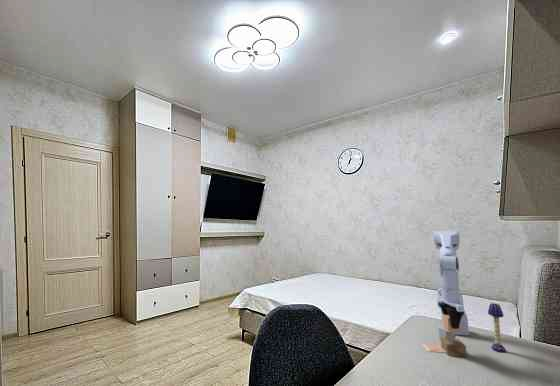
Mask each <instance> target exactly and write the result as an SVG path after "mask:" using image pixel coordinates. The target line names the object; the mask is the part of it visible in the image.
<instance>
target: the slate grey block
mask: <svg viewBox="0 0 560 386" xmlns="http://www.w3.org/2000/svg"><path fill="white" fill-rule="evenodd" d="M456 336H457V335H455V333H451V332H448V331H446V330H445V329H444V328H443V327H438V338H439V341H440V342H441V337H444V338H454V339H457V337H456Z"/></svg>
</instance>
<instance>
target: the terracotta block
mask: <svg viewBox="0 0 560 386" xmlns="http://www.w3.org/2000/svg"><path fill="white" fill-rule="evenodd" d="M443 328H444V329H445V330H446V331H448V332H451V333H460V325H459V329H453V328H452V327H451V323H450V318H449V315H444V314H443Z"/></svg>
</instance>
